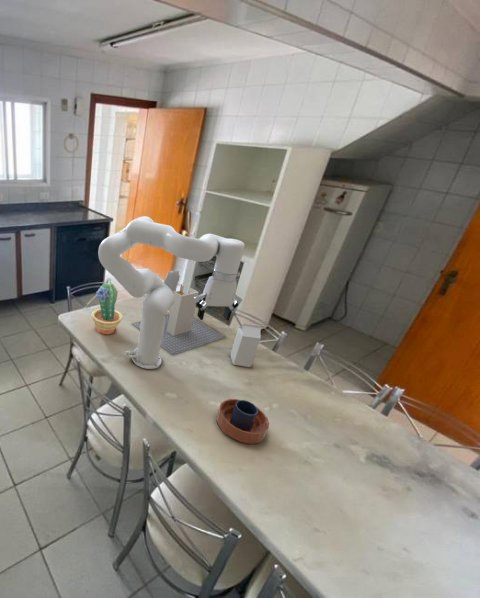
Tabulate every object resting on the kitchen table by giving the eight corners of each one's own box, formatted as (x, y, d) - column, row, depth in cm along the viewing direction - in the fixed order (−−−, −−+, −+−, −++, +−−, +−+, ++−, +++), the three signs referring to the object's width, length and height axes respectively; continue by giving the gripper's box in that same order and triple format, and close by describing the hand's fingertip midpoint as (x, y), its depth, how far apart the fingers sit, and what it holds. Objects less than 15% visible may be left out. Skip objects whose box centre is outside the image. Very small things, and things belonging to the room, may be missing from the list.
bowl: (228, 445, 104) (232, 433, 102) (209, 409, 118) (212, 398, 116) (273, 444, 105) (278, 433, 103) (249, 409, 119) (253, 399, 116)
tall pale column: (171, 302, 194) (178, 268, 184) (176, 305, 191) (183, 270, 181) (157, 305, 189) (163, 270, 180) (162, 309, 186) (168, 273, 176)
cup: (235, 433, 108) (241, 415, 104) (226, 417, 114) (232, 399, 110) (255, 433, 108) (262, 415, 105) (245, 417, 114) (251, 400, 111)
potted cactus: (86, 323, 168) (89, 278, 157) (114, 320, 172) (118, 276, 161) (96, 339, 155) (100, 291, 144) (126, 335, 159) (132, 289, 148)
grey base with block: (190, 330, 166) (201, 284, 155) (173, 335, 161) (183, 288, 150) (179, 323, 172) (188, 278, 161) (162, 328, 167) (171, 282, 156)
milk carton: (250, 367, 141) (263, 330, 133) (233, 365, 142) (245, 327, 134) (246, 358, 147) (258, 321, 139) (229, 355, 148) (241, 319, 140)
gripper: (243, 272, 116) (231, 314, 124) (195, 270, 115) (186, 313, 123) (254, 280, 109) (240, 324, 117) (204, 279, 108) (193, 323, 116)
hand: (212, 318), depth 120 cm, fingers open, 9 cm apart
